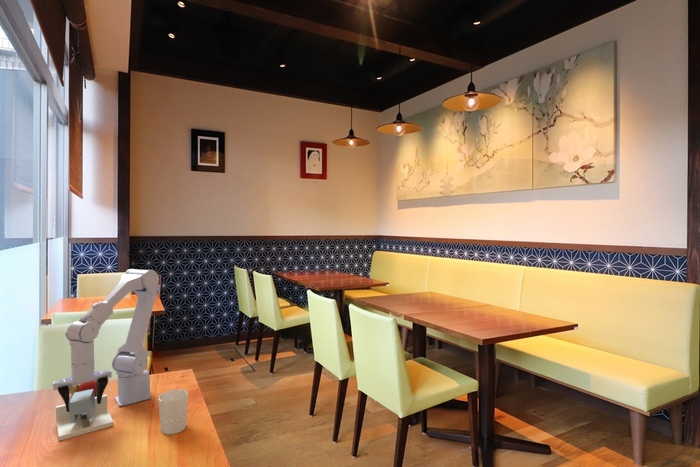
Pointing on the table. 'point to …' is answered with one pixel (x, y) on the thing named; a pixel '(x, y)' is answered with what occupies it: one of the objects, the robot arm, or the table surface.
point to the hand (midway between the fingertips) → (83, 406)
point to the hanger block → (82, 404)
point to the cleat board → (77, 427)
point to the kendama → (83, 387)
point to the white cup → (173, 411)
